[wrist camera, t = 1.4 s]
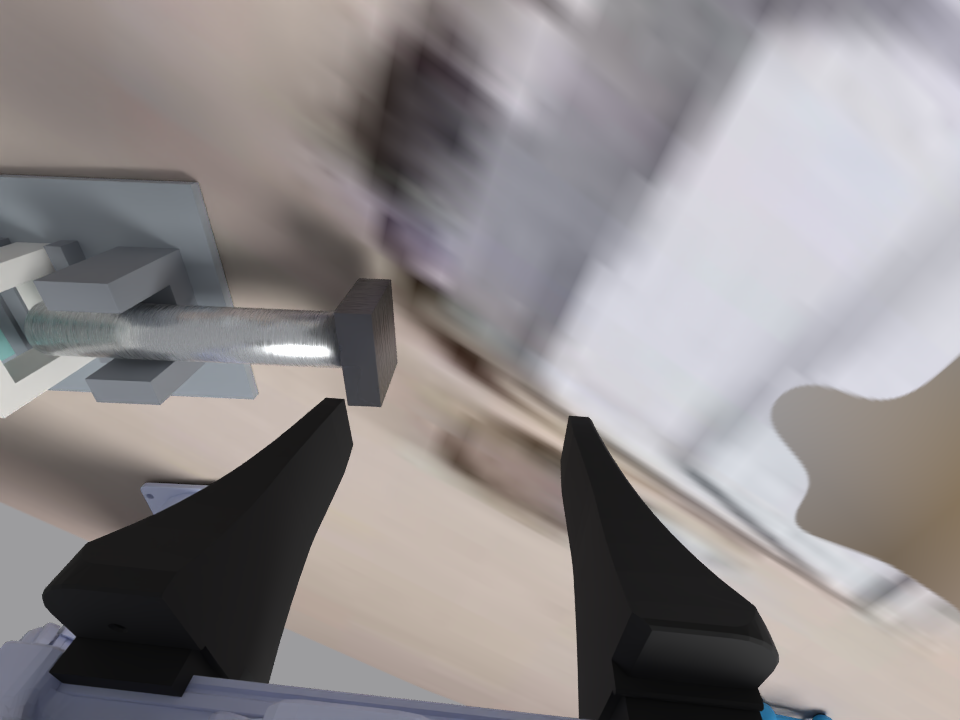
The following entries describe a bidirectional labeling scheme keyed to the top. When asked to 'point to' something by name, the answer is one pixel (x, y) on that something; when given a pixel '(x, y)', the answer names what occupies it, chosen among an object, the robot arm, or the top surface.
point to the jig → (120, 274)
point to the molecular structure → (769, 716)
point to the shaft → (239, 336)
